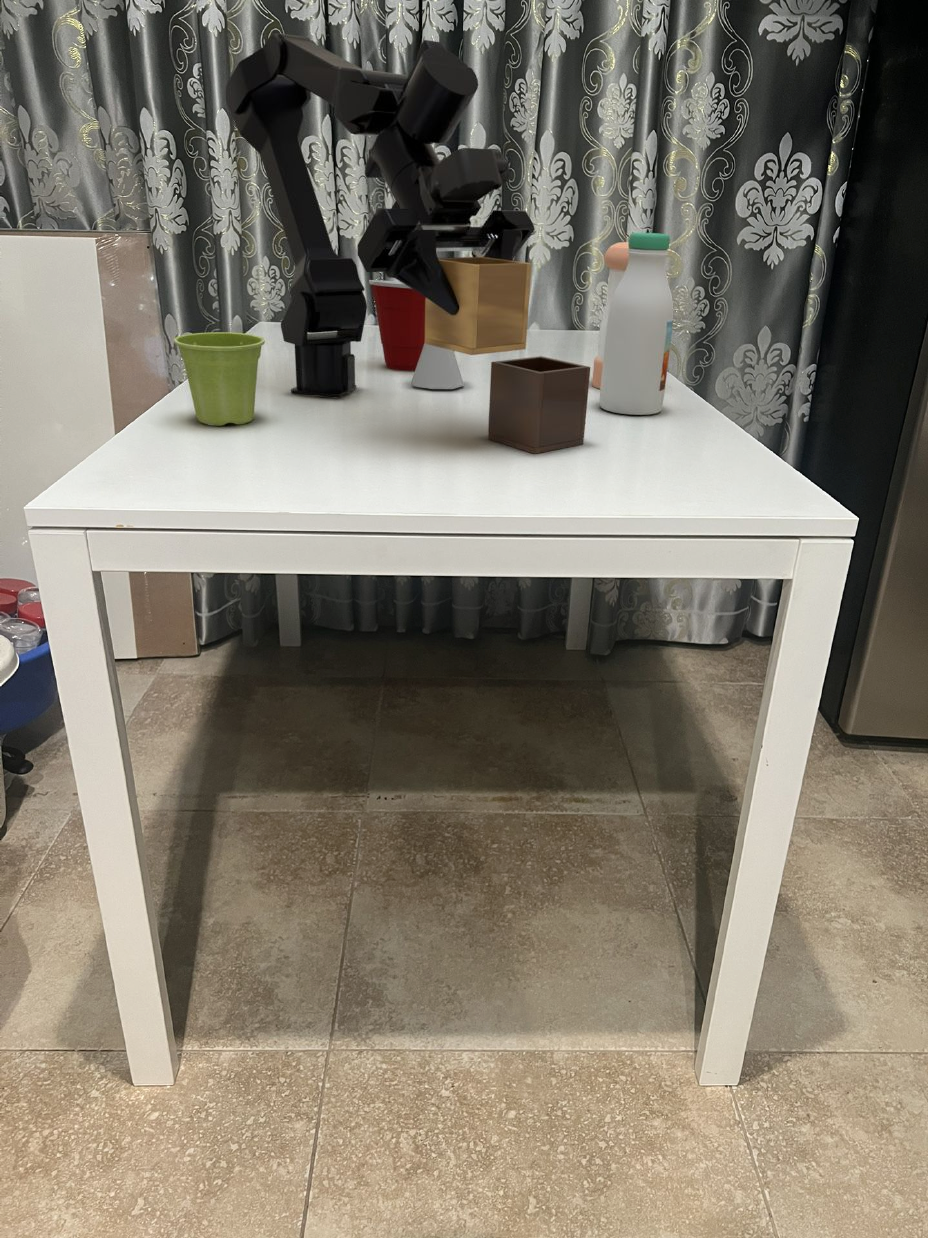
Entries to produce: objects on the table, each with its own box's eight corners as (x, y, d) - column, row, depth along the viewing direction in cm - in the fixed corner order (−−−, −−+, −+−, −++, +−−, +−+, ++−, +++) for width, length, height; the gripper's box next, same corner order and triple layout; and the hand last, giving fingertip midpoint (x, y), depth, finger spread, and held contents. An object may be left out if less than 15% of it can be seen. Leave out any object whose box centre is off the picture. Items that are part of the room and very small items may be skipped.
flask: (458, 392, 117) (460, 311, 113) (404, 388, 118) (404, 308, 114) (469, 382, 124) (471, 305, 119) (417, 378, 125) (418, 302, 120)
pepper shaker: (609, 392, 120) (625, 236, 112) (582, 382, 126) (595, 233, 118) (655, 390, 123) (674, 237, 115) (626, 379, 129) (642, 233, 121)
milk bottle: (648, 419, 107) (670, 235, 98) (588, 409, 110) (605, 231, 102) (671, 408, 113) (694, 234, 104) (613, 399, 116) (631, 230, 108)
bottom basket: (487, 438, 96) (491, 361, 93) (536, 429, 101) (541, 355, 97) (534, 454, 91) (540, 373, 88) (583, 444, 96) (590, 366, 92)
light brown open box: (424, 343, 91) (425, 258, 87) (478, 338, 95) (482, 256, 91) (471, 355, 86) (475, 264, 82) (525, 349, 90) (531, 262, 87)
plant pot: (285, 415, 103) (280, 336, 99) (240, 434, 95) (234, 348, 91) (213, 407, 105) (206, 329, 102) (164, 424, 97) (154, 340, 93)
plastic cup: (457, 366, 134) (460, 280, 129) (415, 377, 126) (416, 285, 120) (398, 358, 139) (398, 274, 134) (354, 367, 131) (352, 279, 126)
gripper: (373, 106, 79) (450, 253, 76) (528, 121, 90) (600, 250, 87) (326, 202, 87) (394, 337, 85) (472, 204, 98) (536, 324, 96)
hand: (485, 310), depth 88 cm, fingers closed on light brown open box, 7 cm apart
